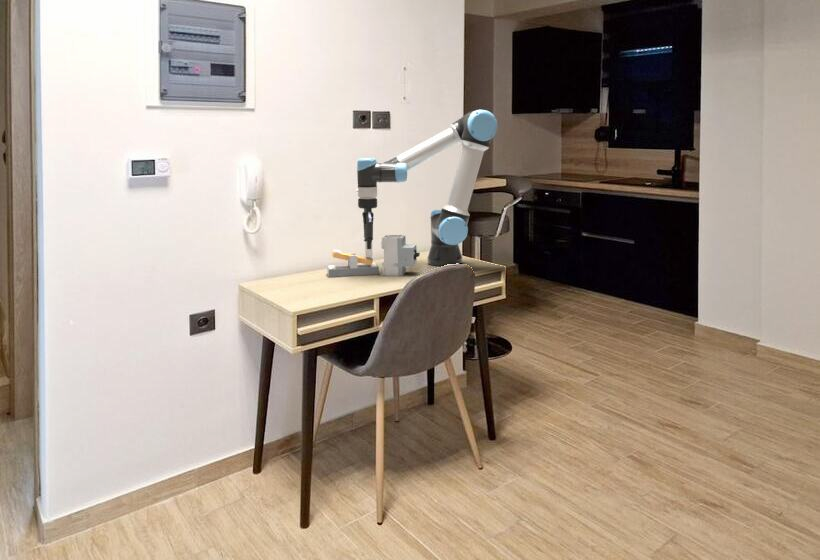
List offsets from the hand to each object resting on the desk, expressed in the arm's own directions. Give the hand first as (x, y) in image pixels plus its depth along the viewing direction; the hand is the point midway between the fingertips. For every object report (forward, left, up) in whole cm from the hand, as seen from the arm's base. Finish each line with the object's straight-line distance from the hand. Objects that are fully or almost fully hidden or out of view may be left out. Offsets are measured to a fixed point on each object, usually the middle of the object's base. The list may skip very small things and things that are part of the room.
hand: (368, 256), depth 260 cm
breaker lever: (+7, 0, 0) cm, 7 cm away
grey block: (+7, 0, -7) cm, 9 cm away
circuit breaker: (-12, +5, -7) cm, 15 cm away
